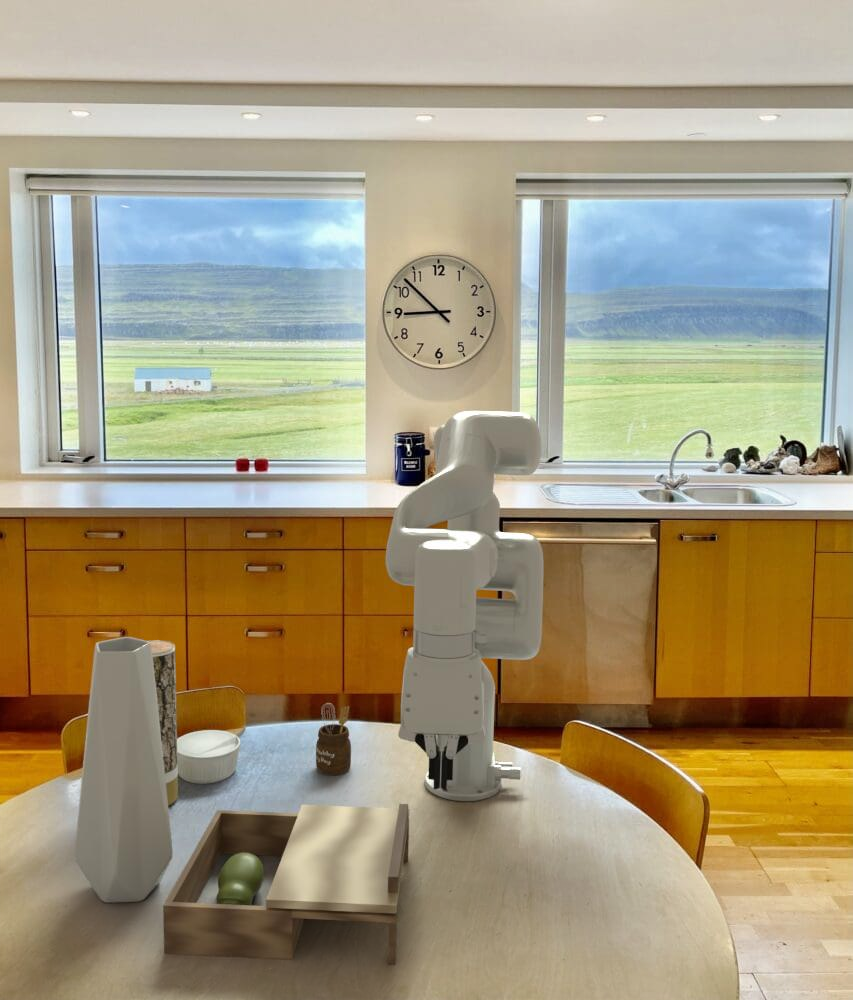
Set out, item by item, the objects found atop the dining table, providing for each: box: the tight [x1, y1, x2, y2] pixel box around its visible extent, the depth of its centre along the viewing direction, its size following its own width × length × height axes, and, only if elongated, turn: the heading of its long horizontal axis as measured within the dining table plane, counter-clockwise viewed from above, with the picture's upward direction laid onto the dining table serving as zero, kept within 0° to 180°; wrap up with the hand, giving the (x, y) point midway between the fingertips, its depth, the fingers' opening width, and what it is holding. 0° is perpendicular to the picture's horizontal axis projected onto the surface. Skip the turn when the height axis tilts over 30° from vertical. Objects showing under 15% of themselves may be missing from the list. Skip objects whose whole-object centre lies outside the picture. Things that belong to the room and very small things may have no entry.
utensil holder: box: [315, 702, 352, 776], centre depth 155 cm, size 6×6×12 cm
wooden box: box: [162, 809, 410, 965], centre depth 117 cm, size 27×23×6 cm
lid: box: [265, 803, 410, 914], centre depth 116 cm, size 15×23×3 cm, turn 177°
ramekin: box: [177, 729, 242, 785], centre depth 154 cm, size 11×11×5 cm
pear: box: [215, 853, 265, 906], centre depth 117 cm, size 6×5×10 cm
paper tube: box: [147, 639, 179, 807], centre depth 142 cm, size 7×7×25 cm
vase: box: [74, 636, 173, 904], centre depth 117 cm, size 12×12×33 cm
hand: (440, 784), depth 114 cm, fingers closed
